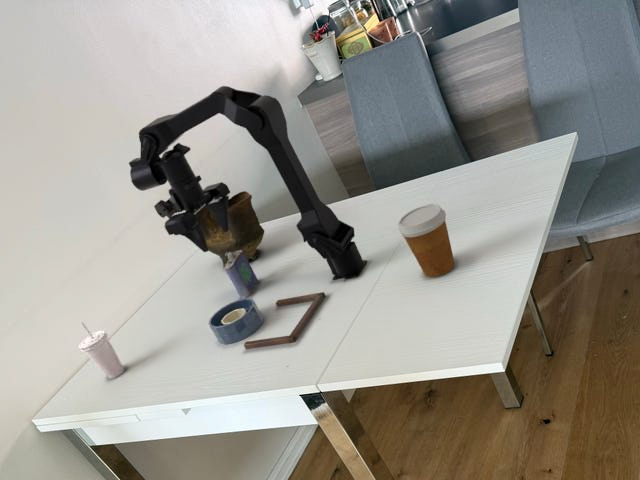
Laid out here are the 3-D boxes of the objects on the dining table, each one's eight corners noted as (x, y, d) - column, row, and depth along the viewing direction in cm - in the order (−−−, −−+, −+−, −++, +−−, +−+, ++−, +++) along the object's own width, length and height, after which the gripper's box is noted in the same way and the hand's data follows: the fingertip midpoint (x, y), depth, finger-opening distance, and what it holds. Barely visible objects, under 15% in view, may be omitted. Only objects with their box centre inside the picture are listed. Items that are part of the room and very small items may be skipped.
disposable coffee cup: (410, 285, 135) (388, 231, 129) (425, 259, 142) (405, 208, 136) (454, 278, 131) (434, 223, 124) (468, 253, 137) (449, 199, 131)
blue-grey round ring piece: (272, 313, 149) (262, 295, 146) (250, 342, 141) (239, 324, 139) (234, 319, 154) (224, 302, 151) (211, 348, 146) (199, 330, 144)
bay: (326, 297, 145) (323, 291, 144) (295, 344, 133) (292, 338, 132) (280, 305, 151) (277, 300, 150) (246, 351, 139) (243, 345, 138)
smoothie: (113, 383, 150) (76, 332, 143) (98, 381, 154) (60, 331, 147) (134, 364, 154) (99, 314, 147) (119, 363, 158) (83, 314, 151)
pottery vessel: (288, 246, 179) (253, 176, 169) (262, 269, 173) (224, 198, 163) (227, 250, 195) (192, 187, 185) (201, 271, 189) (164, 207, 179)
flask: (249, 299, 160) (227, 260, 155) (238, 302, 161) (216, 263, 156) (261, 280, 167) (240, 241, 162) (250, 283, 168) (229, 245, 163)
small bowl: (256, 319, 148) (249, 307, 146) (245, 335, 144) (237, 321, 142) (236, 323, 150) (229, 310, 149) (224, 338, 146) (217, 325, 145)
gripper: (177, 168, 159) (210, 228, 167) (130, 205, 145) (168, 268, 153) (214, 157, 153) (246, 219, 161) (168, 194, 140) (205, 260, 148)
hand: (216, 241), depth 156 cm, fingers open, 9 cm apart
